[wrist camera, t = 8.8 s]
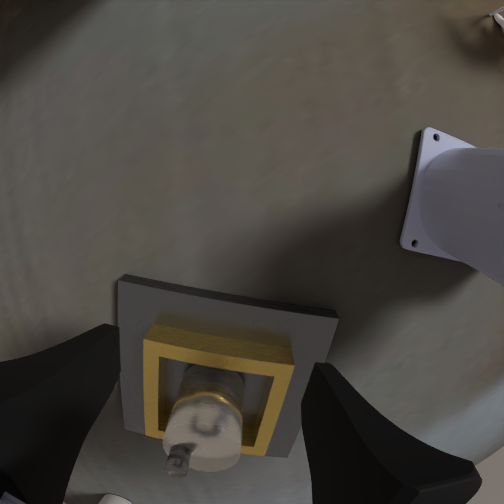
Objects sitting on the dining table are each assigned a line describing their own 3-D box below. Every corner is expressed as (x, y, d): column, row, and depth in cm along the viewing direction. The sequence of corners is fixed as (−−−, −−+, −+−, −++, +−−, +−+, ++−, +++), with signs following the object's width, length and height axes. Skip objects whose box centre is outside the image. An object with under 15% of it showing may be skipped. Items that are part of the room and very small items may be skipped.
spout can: (237, 358, 20) (229, 446, 13) (249, 406, 21) (246, 490, 14) (174, 364, 20) (143, 446, 13) (191, 410, 22) (172, 490, 14)
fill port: (335, 310, 20) (347, 334, 17) (286, 447, 24) (288, 474, 21) (125, 273, 20) (105, 292, 17) (128, 420, 24) (117, 445, 21)
